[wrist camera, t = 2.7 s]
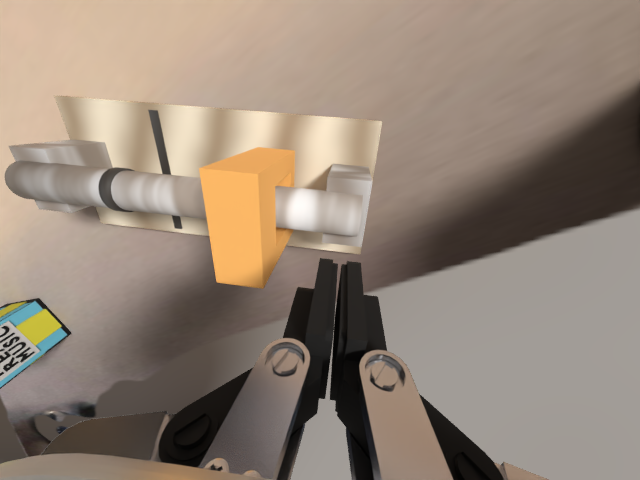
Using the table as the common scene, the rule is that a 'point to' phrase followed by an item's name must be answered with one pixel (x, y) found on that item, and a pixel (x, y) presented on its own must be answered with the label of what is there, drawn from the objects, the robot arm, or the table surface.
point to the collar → (246, 213)
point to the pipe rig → (193, 153)
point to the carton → (26, 336)
